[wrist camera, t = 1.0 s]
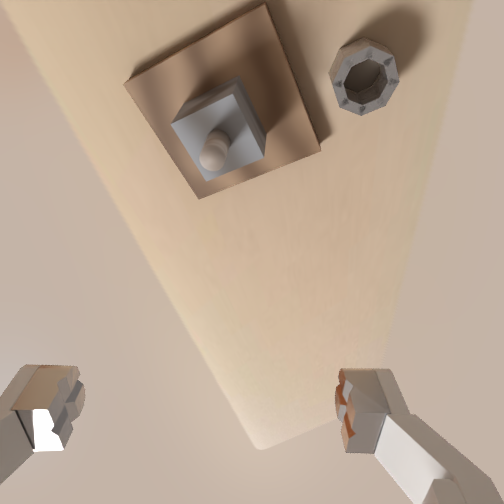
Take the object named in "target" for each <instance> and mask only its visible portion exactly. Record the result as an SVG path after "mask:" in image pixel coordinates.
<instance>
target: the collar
mask: <svg viewBox="0 0 504 504" xmlns="http://www.w3.org/2000/svg"><path fill="white" fill-rule="evenodd" d="M367 59H370V60H373V61H375V62H377V63H379V67H380V72H379V74H378V76H377V78H376V80H375V82H374V84H373V85H372V86H371V87H369V88H367V89H364V90H362V91H360V92H358V93H356V92H354V91H352V90H349V89H347V88H344V85H343V83H344V81H345V79H346V77H347V75H348V73H349V71H350V69H351V67H352V66H354V65H356V64H359V63H361V62H363V61H365V60H367ZM329 76H330V79H331V82H332V85H333V88H334V91H335V95H336V98H337V101H338V104H339V107H340V108H343V109H345V110H348V111H350V112H353V113H355V114H358V115H360V116H362V115H364V114H367V113H369V112H372V111H374V110H376V109H379V108H381V107H384V106H386V104H387V102H388V100H389V99H390V97H391V95H392V94H393V92H394V90H395V88H396V87H397V85H398V83H399V82H400V81H399V77H398V72H397V68H396V63H395V59H394V56H393V54H392V53H391V52H390V51H389V50H388V49H387V48H386V47H385V46H383V45H381V44H378V43H376V42H374V41H372V40H369V39H367V38H365V37H363V38H361V39H359V40H357V41H355V42H353V43H351V44H349V45H346V46H344V47H342V48H340V49H339V52H338V54H337V56H336V58H335V60H334V63H333V65H332V67H331V69H330V71H329Z"/></svg>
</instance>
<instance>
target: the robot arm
mask: <svg viewBox="0 0 504 504" xmlns="http://www.w3.org/2000/svg"><path fill="white" fill-rule="evenodd" d="M79 376H80V372H79V370H78V367H76V366H61V365H25V366H23V367H22V368H20V370H19V371H18V373H17V374H16V375H15V377H14V378H13V380H12V381H11V382H10V384H9V385H8V387H7V388H6V390H5V391H4V392H3V394H2V395H1V397H0V484H2V483H3V482H4V481H5V480H6V479H7V478H8V477H9V476H10V475H11V474H12V473H13V472H14V471H15V470H16V469H17V468H18V467H19V466H20V465H22V464H23V463H24V462H25V461H26V460H27V459H28V458H29V457H30V456H31V455H32V454H33V453H34V451H49V450H64V448H65V446H66V444H67V442H68V440H69V437H70V435H71V433H72V431H73V427H72V424H71V422H72V421H73V420H75V419H76V418H77V417H78V416H79V415H80V413H81V411H82V408H83V405H84V401H85V389H84V385H83V384H82V383H81V382H80V381H79V380H78V377H79ZM338 379H339V383H340V384H339V385H338V386H337V387H336V391H335V407H336V413H337V418H338V419H339V420H340V421H341V422H342V428H341V435H342V439H343V443H344V448H345V452H346V453H370V454H374V456H375V457H376V458H377V459H378V461H379V462H380V463H381V464H382V465H383V466H384V468H385V469H386V470H387V472H388V473H389V474H390V475H391V476H392V478H393V479H394V480H395V481H396V482H397V484H398V485H399V486H400V487H401V489H402V490H403V491H404V492H405V493H406V495H407V496H408V497H409V498H410V500H411V501H412V502H413V503H414V504H504V502H503V500H502V498H501V496H500V495H499V493H498V491H497V489H496V487H495V485H494V484H493V482H492V480H491V478H490V477H488V476H487V475H486V474H485V473H484V472H482V471H481V470H480V469H479V468H478V467H477V466H476V465H474V464H473V463H472V462H471V461H470V460H468V459H467V458H466V457H465V456H464V455H463V454H461V453H460V452H459V451H458V450H457V449H456V448H454V447H453V446H452V445H451V444H450V443H448V442H447V441H446V440H445V439H444V438H442V437H441V436H440V435H439V434H438V433H437V432H435V431H434V430H433V429H432V428H431V427H429V426H428V425H427V424H426V423H425V422H424V421H422V420H421V419H420V418H419V417H418V416H416V415H413V414H410V412H409V410H408V407H407V405H406V403H405V401H404V398H403V396H402V394H401V391H400V389H399V387H398V384H397V382H396V380H395V377H394V375H393V373H392V371H391V370H390V369H340V371H339V375H338Z"/></svg>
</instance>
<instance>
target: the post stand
mask: <svg viewBox="0 0 504 504" xmlns="http://www.w3.org/2000/svg"><path fill="white" fill-rule="evenodd" d="M123 85H124V87H125V88H126V90H127V91H128V93H129V94H130V96H131V97H132V99H133V100H134V102H135V103H136V105H137V106H138V108H139V110H140V111H141V113H142V114H143V116H144V117H145V119H146V120H147V122H148V123H149V125H150V126H151V128H152V129H153V131H154V132H155V134H156V135H157V137H158V138H159V140H160V141H161V143H162V144H163V146H164V147H165V149H166V150H167V152H168V153H169V155H170V157H171V158H172V160H173V161H174V163H175V164H176V166H177V167H178V169H179V170H180V172H181V173H182V175H183V176H184V178H185V179H186V181H187V182H188V184H189V185H190V187H191V188H192V190H193V191H194V193H195V194H196V196H197V197H198V199H201V198H204V197H206V196H209V195H211V194H214V193H216V192H219V191H222V190H224V189H227V188H229V187H232V186H234V185H237V184H239V183H242V182H244V181H247V180H249V179H252V178H254V177H257V176H259V175H262V174H264V173H267V172H270V171H272V170H275V169H277V168H280V167H282V166H285V165H287V164H290V163H292V162H295V161H297V160H300V159H302V158H305V157H307V156H310V155H312V154H315V153H318V152H320V151H321V148H320V143H319V140H318V138H317V135H316V132H315V130H314V127H313V124H312V122H311V119H310V117H309V114H308V111H307V109H306V106H305V103H304V101H303V98H302V96H301V93H300V90H299V88H298V85H297V82H296V80H295V77H294V75H293V72H292V69H291V67H290V64H289V62H288V59H287V56H286V54H285V51H284V48H283V46H282V43H281V41H280V38H279V35H278V33H277V30H276V27H275V25H274V22H273V20H272V17H271V14H270V12H269V9H268V7H267V4H266V2H264V3H262V4H260V5H259V6H257V7H255V8H253V9H252V10H250V11H248V12H246V13H245V14H243V15H241V16H239V17H237V18H236V19H234V20H232V21H230V22H229V23H227V24H225V25H223V26H222V27H220V28H218V29H216V30H215V31H213V32H211V33H209V34H208V35H206V36H204V37H202V38H200V39H199V40H197V41H195V42H193V43H192V44H190V45H188V46H186V47H185V48H183V49H181V50H179V51H178V52H176V53H174V54H172V55H171V56H169V57H167V58H165V59H164V60H162V61H160V62H158V63H156V64H155V65H153V66H151V67H149V68H148V69H146V70H144V71H142V72H141V73H139V74H137V75H135V76H134V77H132V78H130V79H129V80H127V81H126V82H125V83H124V84H123Z"/></svg>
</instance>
